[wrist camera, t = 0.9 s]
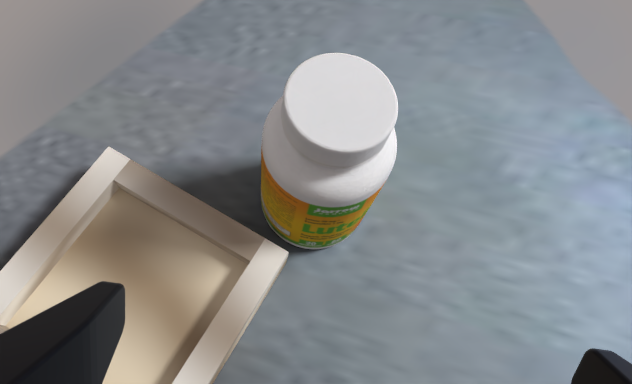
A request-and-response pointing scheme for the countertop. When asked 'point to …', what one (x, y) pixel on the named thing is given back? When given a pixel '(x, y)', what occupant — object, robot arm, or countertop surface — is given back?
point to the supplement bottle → (327, 149)
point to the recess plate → (147, 271)
